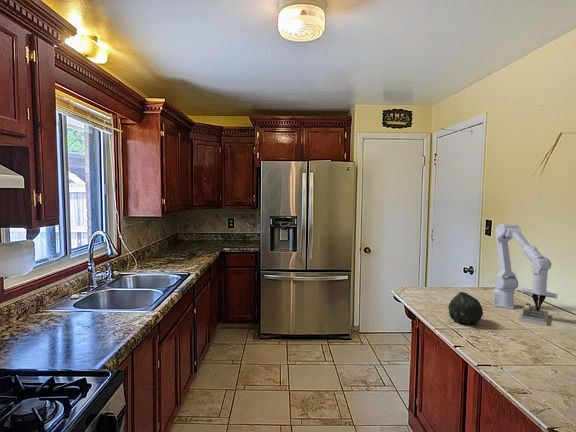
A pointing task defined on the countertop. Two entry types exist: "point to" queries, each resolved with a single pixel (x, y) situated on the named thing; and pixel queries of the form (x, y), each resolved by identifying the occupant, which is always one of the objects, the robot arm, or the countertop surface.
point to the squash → (465, 309)
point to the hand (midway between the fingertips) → (537, 310)
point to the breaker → (526, 312)
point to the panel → (535, 317)
